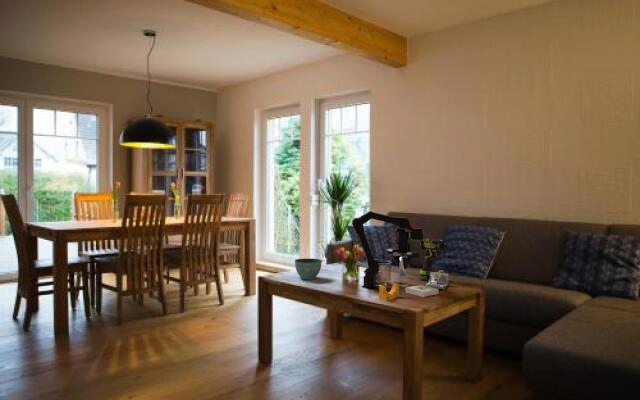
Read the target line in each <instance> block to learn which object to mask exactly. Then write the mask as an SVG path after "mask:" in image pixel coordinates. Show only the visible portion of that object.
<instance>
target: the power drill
mask: <svg viewBox="0 0 640 400" xmlns="http://www.w3.org/2000/svg"><path fill="white" fill-rule="evenodd" d="M419 248H420V250H422V251H425V252H426V254H425V257H424V260H423V264H422V268H421V269H420V270H419V277H418V279H419V280H420V281H422V282H428V281H429V279H430V272H433V273H443V274H446V272H444V270H442V269H437V268H435V269H433V262H434V259H435V258H439V254H440V253H441V251H443V250H447V249H446V248H450V244H449V243H447V241H446V240H443V239H440V238H439V239H438V238H427V237H426V238H423V240H422V241H419Z"/></svg>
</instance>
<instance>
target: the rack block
mask: <svg viewBox="0 0 640 400" xmlns="http://www.w3.org/2000/svg"><path fill="white" fill-rule="evenodd" d="M405 293H407V294H411V295H415V296H419V297H422V298H425V297H429V296H435V295H439V289H438V288H432V287H428V286H423V284H418V285H417V286H412V287H406V291H405Z"/></svg>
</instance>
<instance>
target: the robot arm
mask: <svg viewBox="0 0 640 400" xmlns="http://www.w3.org/2000/svg"><path fill="white" fill-rule="evenodd" d="M370 220H376V221H380V222H384V223H388V224H392V225H395V226H397V227H396V229H394V232H395V233H397V241H396V242H395V244H396V245H397V248H396V247H393V248H388V249H387V251H386V252H387V253H386V254H387V255H392V257H393V259H394V261H395V263H396V265H397V267H398V268H399V257H403V265H404V269H406V270H407V268H408V266H409V264H410V261H411V260H412V259H416V258H420V253H419V252H418V251H416V250H417V247H416V246H414V245H411V242H412V241H415V242H416V241H418V242H420V241H422V240H423V239H424V233H423V228H421V227H417V228H416V227H415V228H413V227H412V226H411V224H410V220H409V218H406V217H405V216H390V215H387V214H381V213H379V212H374V211H372V210H370V211H369V210H368V211H367V212H366V213H364V214H363V215H360V216H359V217H354V218H353V219H352V220H351V226H352V227H353V229H354V231H355V232H356V234H357V235H358V240H359V242H360V244H361V247H362V250H363V252H364V255H365V258H366V264H367V265H366V266H367V267H366V269H364V270H363V273H364V276H363V284H362V285H361V288H365V289H369V290H371V289H376V288H378V286H377V274H378V273H380V268H381V266H380V265H379V260H378V258H376V257H375V258H374V257H373V253H372V250H371V248H370V245H369V241H368V239H367V236H366V233H365V227H364V225H365V224H366V223H367V222H368V221H370ZM409 239H411V242H409ZM378 289H379V288H378Z"/></svg>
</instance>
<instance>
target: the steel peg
mask: <svg viewBox="0 0 640 400" xmlns="http://www.w3.org/2000/svg"><path fill="white" fill-rule="evenodd" d="M403 257H404V256H403ZM403 257H399V267H398V270H399V271H398V276H399V277H406V275H407V268H406V269H404V265H403Z"/></svg>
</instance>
